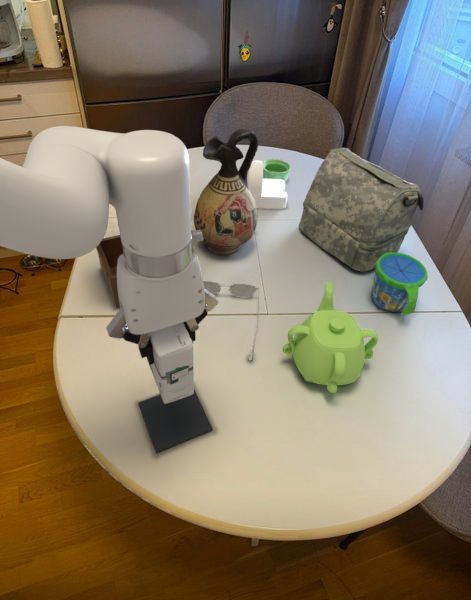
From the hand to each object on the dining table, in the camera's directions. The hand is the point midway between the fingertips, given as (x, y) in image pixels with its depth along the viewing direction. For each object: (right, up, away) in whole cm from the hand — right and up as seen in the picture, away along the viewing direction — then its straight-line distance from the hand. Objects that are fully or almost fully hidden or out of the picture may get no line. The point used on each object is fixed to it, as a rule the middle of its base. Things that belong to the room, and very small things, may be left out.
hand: (168, 349), depth 59 cm
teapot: (+27, -5, +24) cm, 37 cm away
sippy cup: (+44, +7, +37) cm, 58 cm away
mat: (-1, -13, +14) cm, 19 cm away
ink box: (0, -5, +5) cm, 7 cm away
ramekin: (+22, +46, +74) cm, 89 cm away
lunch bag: (+40, +22, +52) cm, 69 cm away
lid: (-18, +22, +22) cm, 36 cm away
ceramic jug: (+7, +21, +49) cm, 54 cm away
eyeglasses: (+6, +2, +29) cm, 30 cm away
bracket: (+15, +37, +65) cm, 76 cm away
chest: (-12, +12, +37) cm, 41 cm away
